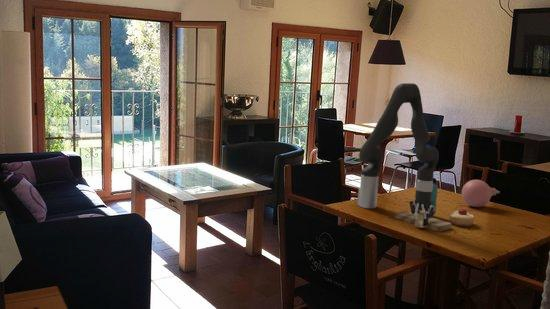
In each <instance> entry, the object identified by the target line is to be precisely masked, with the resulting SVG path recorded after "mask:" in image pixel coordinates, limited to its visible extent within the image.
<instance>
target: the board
mask: <svg viewBox="0 0 550 309" xmlns="http://www.w3.org/2000/svg"><path fill="white" fill-rule="evenodd" d="M393 218H394V219H396V220H399V221H404V222H406V223H410V224H413V225H415V222H414V218H415V215H414V214H412V213H411V210H402V211H398V212H394V217H393ZM452 225H453V224H452V223H451V222H450V221H445V220H442V219H438V218H434V217H432V218H429V219H428V225H427V227H424V228H426V229H429V230H432V231H436V232H438V233H440V232H444V231H447V230H450V229H452V227H453V226H452Z"/></svg>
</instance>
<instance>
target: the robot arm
mask: <svg viewBox="0 0 550 309" xmlns="http://www.w3.org/2000/svg"><path fill="white" fill-rule="evenodd" d="M422 102H423V101H422V96H421V91H420V88H419V86H418V85H417V84H416V83H413V82H412V83H409V82H408V83H399V84H397V85H396V86H395V87H394V89H393V91H392V93H391V97H390V98H389V101H388V103H387V105H386V107H385V109H384V111H383V113H382V114H381V116H380V118H379V119H378V121H377V123H376V125H375V127H374V129H373V130H372V132H371V134H370V135H369V136H368V138H367V139H366V140H365V142H364V143H363V145H362V146H361V148H360V150H359V153H358V158H359V161H361V162H362V163H364V164H368V165H367V166H366V167H364V168H362V169H361V172H360V173H361V175H360V186H359V187H358V193H357V194H358V195H357V206H359V207H360V208H363V209H376V208H377V201H378V189H379V178H380V177H379V175H380V172H381V168H382V161H383V151H382V148H381V146H380V144H382V143H383V142H384V141H386V140H388V139H389V138H390V137H391V136H392V135H393V134H394V131H395V130H396V129H397V126H398V125H399V115H398V114H399V111H400V108H401V107H402V105H403V104H405V103H406V104H407V103H409V104H410V106H411V110H412V111H411V112H412V116H411V122H410V130H411V132H412V136H413V140H414V152H415V157H416V159H417V161H419V162H420V163H423V165H422V166H420V167H418V170H417V178H416V179H417V180H416V183H415V193H414V196H415V197H414V198H415V199H414V200H410V201H409V207H410V211H411V213H412V214H414V215H416V213H420V212H422V213H423V214H424V221H423V226H427V225H428V219H429V218H434V217H433V216H434V215H435V214H436V212H435V211H436V210H437V206H436V207H434V206H432V205H431V199H432V190H433V184H434V183H433V178H434V172H435V170H436V166H437V164H438V162H439V158H440V156H439V154H440V153H439V150H438V148H436V146H427V143H428V142H429V141H430V140H431V137H430V136H431V135H430V132H429V129H428V126H427V125H426V121H425V116H424V108H423V103H422ZM429 208H430V212H429ZM434 213H435V214H434ZM414 222H415V218H414Z"/></svg>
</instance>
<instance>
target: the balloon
mask: <svg viewBox="0 0 550 309" xmlns="http://www.w3.org/2000/svg"><path fill="white" fill-rule="evenodd" d="M500 193H501V191H499V190H497V189H496V188H495V187H491V186H489V184H488V183H486V181H484V180H481V179H472V180H469V181H466V183H465V184H464V185H463V187H462V189H461V198H462V200H463V201H464V203H465V204H467V205H468V206H470V207H473V208H481V207H484V206H486V205H487V204H488V203H489V201H490V200H491V199H492V198H491V197H492V196H496V195H497V194H500Z"/></svg>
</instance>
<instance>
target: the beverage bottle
mask: <svg viewBox="0 0 550 309" xmlns="http://www.w3.org/2000/svg"><path fill="white" fill-rule="evenodd" d="M436 183H437V179H436V178H435V177H433V190H432V199H431V205H432V206H434V207H436V208H437V198H438V186H437V185H436ZM429 212H430V208H429ZM436 212H437V211H436V210H435V213H434V215H435V214H436Z"/></svg>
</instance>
